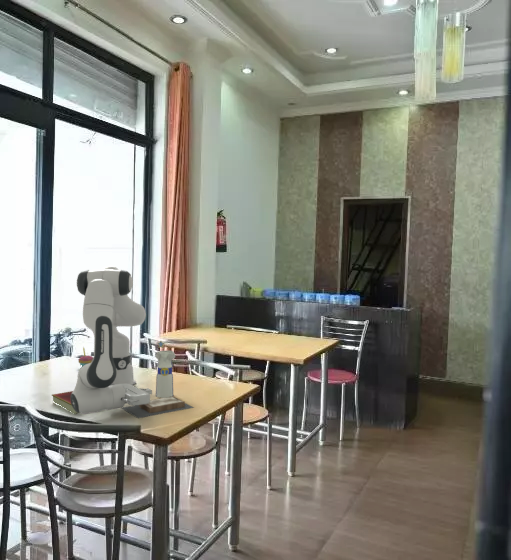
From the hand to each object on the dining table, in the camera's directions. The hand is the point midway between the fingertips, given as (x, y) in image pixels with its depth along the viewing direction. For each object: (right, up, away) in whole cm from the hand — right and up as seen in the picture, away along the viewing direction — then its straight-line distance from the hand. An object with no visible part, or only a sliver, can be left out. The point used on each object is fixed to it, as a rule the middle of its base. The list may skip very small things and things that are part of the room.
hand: (150, 391), depth 190 cm
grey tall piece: (+2, -7, +21) cm, 22 cm away
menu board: (-2, -6, -1) cm, 7 cm away
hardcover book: (-30, -8, +4) cm, 32 cm away
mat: (+2, -8, +2) cm, 8 cm away
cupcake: (-51, -5, +74) cm, 90 cm away
